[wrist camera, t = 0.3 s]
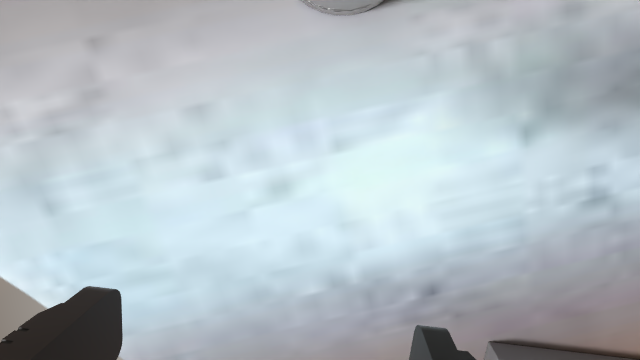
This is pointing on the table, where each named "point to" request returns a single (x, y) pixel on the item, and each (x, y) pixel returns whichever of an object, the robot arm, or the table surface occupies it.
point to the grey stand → (537, 353)
